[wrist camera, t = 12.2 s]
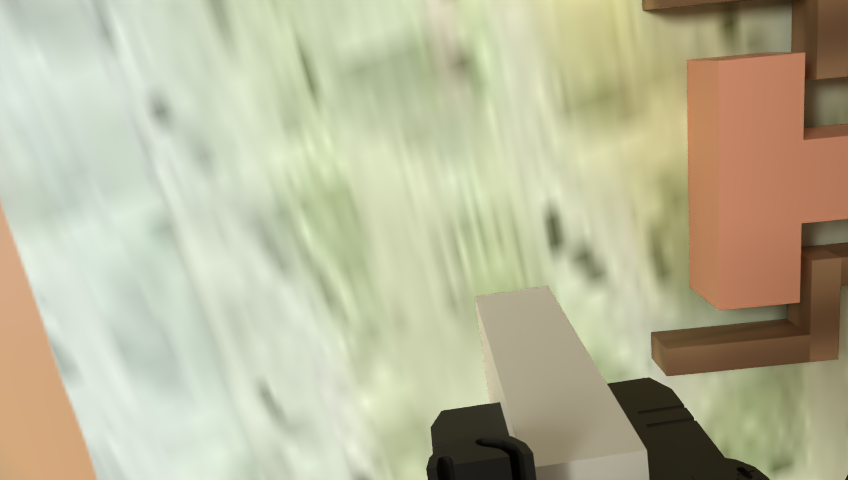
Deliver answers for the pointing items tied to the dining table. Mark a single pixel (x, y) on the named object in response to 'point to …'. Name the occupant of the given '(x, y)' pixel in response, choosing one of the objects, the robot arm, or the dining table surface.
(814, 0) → the corral
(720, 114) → the t block
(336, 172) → the dining table surface
